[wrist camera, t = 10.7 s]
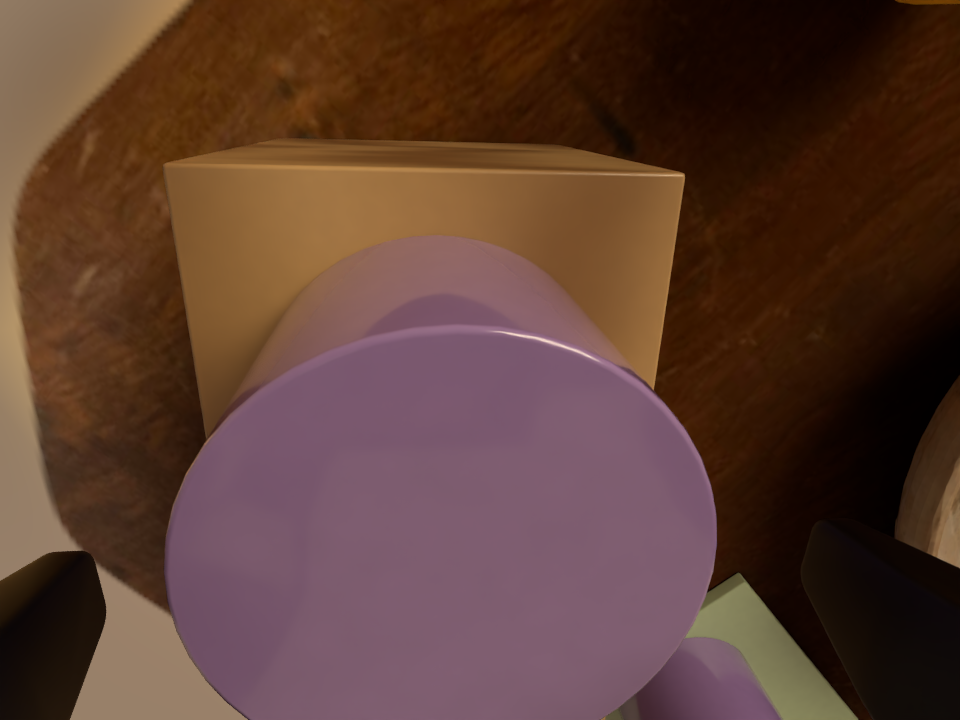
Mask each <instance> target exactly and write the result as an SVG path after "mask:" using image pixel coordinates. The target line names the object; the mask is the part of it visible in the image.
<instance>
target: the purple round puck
mask: <svg viewBox="0 0 960 720" xmlns="http://www.w3.org/2000/svg"><path fill="white" fill-rule="evenodd" d="M618 711H619V714H620V717H621V720H784V719H783V717H782V716H781V714H780V713H779V711H778V709H777V708H776V706H775V705H774V703H773V701H772V700H771V698H770V696H769V695H768V693H767V692H766V690H765V688H764V687H763V685H762V684H761V682H760V680H759V679H758V677H757V675H756V674H755V672H754V671H753V669H752V667H751V666H750V664H749V662H748V661H747V659H746V658H745V656H744V655H743V654H742V652H741V651H740V650H739V649H737V648H736V647H735V646H733V645H731V644H729V643H727V642H725V641H722V640H719V639H715V638H707V637H693V638H685V639H684V640H683V642H682V643H681V645H680V647H679V648H678V649H677V650H676V652H675V653H674V654H673V655H672V657H671V658H670V659H669V661H668V662H667V663H666V664H665V666H664V667H663V668H662V669H661V670H660V671H659V672H658V673H657V674H656V675H655V676H654V677H653V678H652V679H651V680H650V681H649V682H648V683H647V684H646V685H645V686H644V687H643V688H642V689H641V690H640V691H639V692H638V693H637V694H635V695H634V696H633V697H632V698H630V699H629V700H628V701H627V702H625V703H624V704H623V705H622V706H621V707H619V708H618Z"/></svg>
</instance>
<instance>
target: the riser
mask: <svg viewBox="0 0 960 720" xmlns="http://www.w3.org/2000/svg"><path fill="white" fill-rule="evenodd" d="M163 174H164V180H165V186H166V192H167V198H168V205H169V211H170V217H171V223H172V230H173V236H174V242H175V248H176V254H177V261H178V267H179V273H180V279H181V286H182V292H183V298H184V304H185V310H186V317H187V323H188V329H189V335H190V341H191V348H192V354H193V360H194V366H195V373H196V379H197V385H198V391H199V397H200V404H201V410H202V416H203V422H204V428H205V435H206V440H207V438H208V437H209V435H210V433H211V432H212V430H213V428H214V427H215V425H216V423H217V422H218V420H219V419H220V417H221V415H222V414H223V412H224V410H225V409H226V407H227V405H228V404H229V402H230V401H231V399H232V397H233V396H234V394H235V392H236V391H237V389H238V387H239V386H240V384H241V383H242V381H243V379H244V378H245V376H246V374H247V373H248V371H249V369H250V368H251V366H252V365H253V363H254V361H255V360H256V358H257V356H258V355H259V353H260V352H261V350H262V348H263V347H264V345H265V343H266V342H267V340H268V338H269V337H270V335H271V334H272V332H273V330H274V329H275V327H276V325H277V324H278V322H279V321H280V319H281V317H282V316H283V314H284V312H285V311H286V309H287V308H288V306H289V305H290V304H291V303H292V302H293V301H294V299H295V298H296V297H297V296H298V295H299V293H300V292H301V291H302V290H303V289H304V288H305V287H306V286H307V285H308V284H310V283H311V282H312V281H313V280H314V279H315V278H316V277H317V276H318V275H320V274H321V273H322V272H324V271H325V270H327V269H328V268H330V267H331V266H333V265H334V264H336V263H337V262H339V261H340V260H342V259H344V258H346V257H348V256H350V255H352V254H354V253H356V252H358V251H360V250H362V249H365V248H368V247H371V246H374V245H377V244H380V243H383V242H386V241H391V240H396V239H401V238H406V237H412V236H429V235H443V236H456V237H464V238H469V239H474V240H479V241H484V242H487V243H490V244H493V245H496V246H499V247H502V248H504V249H507V250H510V251H511V252H513V253H515V254H517V255H519V256H521V257H523V258H525V259H527V260H529V261H531V262H532V263H533V264H535V265H536V266H538V267H539V268H541V269H542V270H543V271H545V272H546V273H548V274H549V275H550V276H551V277H552V278H553V279H554V280H555V281H556V282H557V283H558V284H560V285H561V286H562V287H563V288H564V289H565V290H566V291H567V293H568V294H569V295H570V296H571V297H572V298H573V299H574V301H575V302H576V303H577V304H578V305H579V306H580V307H581V308H582V310H583V311H584V312H585V313H586V314H587V315H588V316H589V318H590V319H591V320H592V321H593V322H594V323H595V324H596V325H597V327H598V328H599V329H600V330H601V331H602V332H603V333H604V335H605V336H606V337H607V338H608V339H609V340H610V341H611V343H612V344H613V345H614V346H615V347H616V348H617V349H618V350H619V352H620V353H621V354H622V355H623V356H624V357H625V358H626V360H627V361H628V362H629V363H630V364H631V365H632V366H633V367H634V369H635V370H636V371H637V372H638V373H639V374H640V375H641V377H642V378H643V379H644V380H645V381H646V382H647V383H648V385H649V386H650V387H651V388H652V389H653V390H654V384H655V377H656V370H657V364H658V357H659V350H660V343H661V337H662V330H663V323H664V316H665V309H666V303H667V296H668V289H669V282H670V275H671V269H672V262H673V255H674V248H675V241H676V235H677V228H678V221H679V214H680V208H681V201H682V194H683V187H684V180H685V175H684V174H683V173H681V172H677V171H673V170H668V169H664V168H659V167H655V166H651V165H646V164H642V163H637V162H633V161H628V160H624V159H619V158H615V157H610V156H606V155H601V154H597V153H593V152H588V151H584V150H579V149H575V148H570V147H566V146H561V145H557V144H515V143H473V142H431V141H388V140H346V139H304V138H279V139H275V140H270V141H265V142H261V143H256V144H251V145H247V146H242V147H237V148H233V149H228V150H223V151H219V152H214V153H209V154H205V155H200V156H195V157H191V158H186V159H181V160H177V161H172V162H167V163H165V164H163ZM601 720H605V717H604V718H603V719H601Z"/></svg>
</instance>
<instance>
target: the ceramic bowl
mask: <svg viewBox="0 0 960 720" xmlns="http://www.w3.org/2000/svg"><path fill="white" fill-rule="evenodd" d="M895 539H897V540H899V541H902V542H904V543H906V544H908V545H910V546H913V547H915V548H917V549H919V550H921V551H924V552H926V553H928V554H930V555H932V556H935V557H937V558H939V559H941V560H943V561H945V562H948V563H950V564H952V565H954V566H956V567H959V568H960V375H959V376H958V378H957V379H956V380H955V382H954V383H953V385H952V386H951V388H950V389H949V391H948V392H947V394H946V395H945V397H944V398H943V400H942V401H941V403H940V404H939V406H938V407H937V409H936V411H935V413H934V415H933V417H932V419H931V420H930V422H929V424H928V426H927V428H926V430H925V432H924V434H923V435H922V437H921V439H920V442H919V444H918V446H917V449H916V451H915V453H914V456H913V460H912V463H911V466H910V469H909V472H908V474H907V477H906V480H905V482H904V486H903V491H902V496H901V501H900V506H899V511H898V516H897V519H896V524H895Z"/></svg>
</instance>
